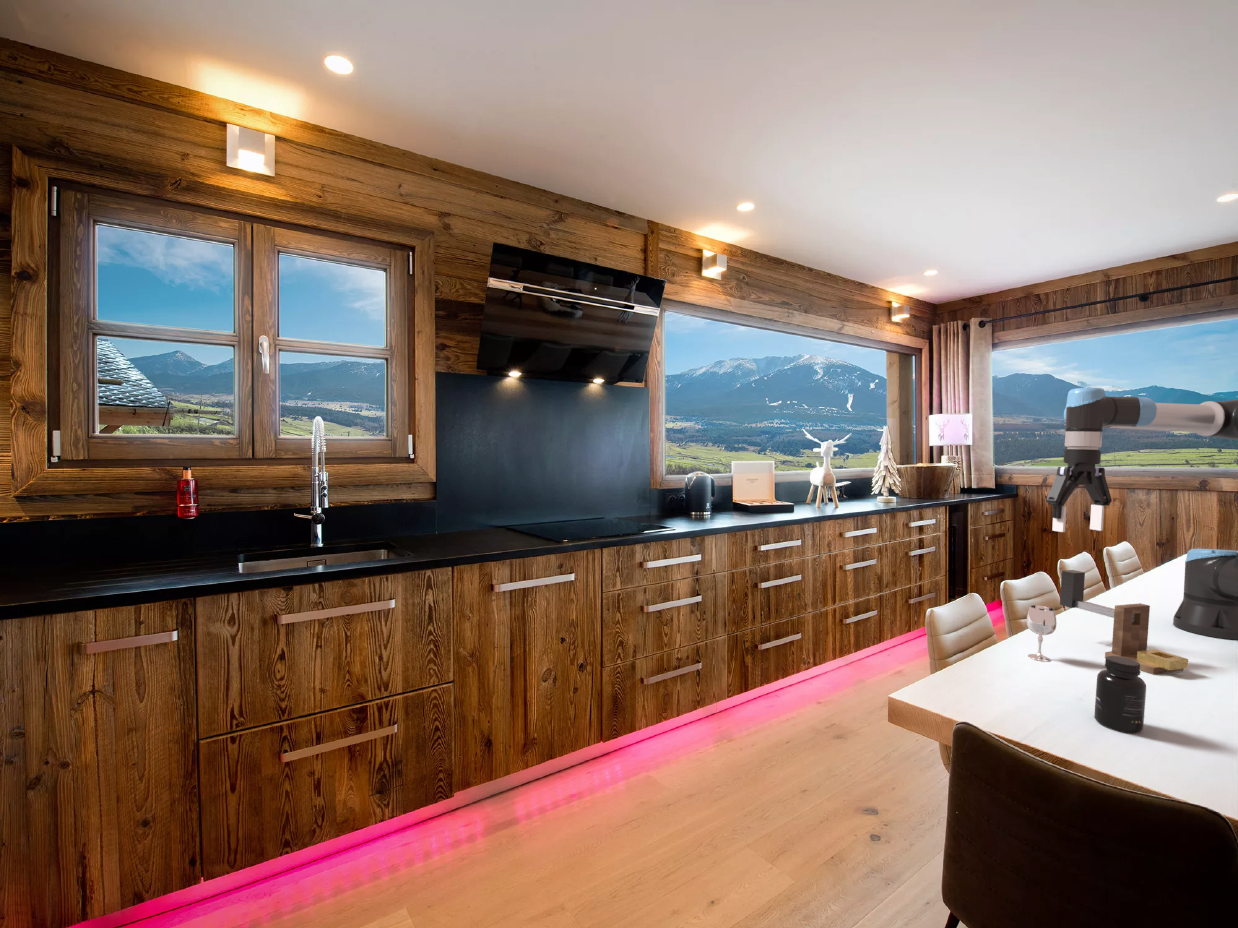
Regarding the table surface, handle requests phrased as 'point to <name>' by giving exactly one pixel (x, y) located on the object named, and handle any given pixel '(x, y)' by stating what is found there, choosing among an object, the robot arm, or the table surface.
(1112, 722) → the supplement bottle
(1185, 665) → the block
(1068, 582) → the grey hammer
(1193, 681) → the table surface
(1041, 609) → the wineglass
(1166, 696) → the table surface
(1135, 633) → the bearing frame
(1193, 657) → the table surface
